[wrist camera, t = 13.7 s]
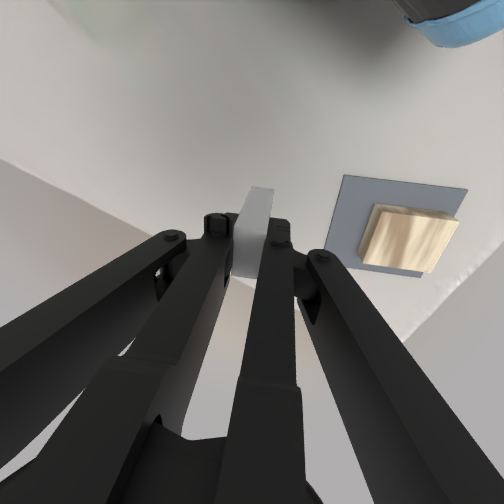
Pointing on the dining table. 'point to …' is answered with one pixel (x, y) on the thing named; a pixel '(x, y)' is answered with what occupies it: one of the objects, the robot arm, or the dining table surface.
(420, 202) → the mat
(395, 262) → the wooden block
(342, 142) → the dining table surface
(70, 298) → the robot arm
